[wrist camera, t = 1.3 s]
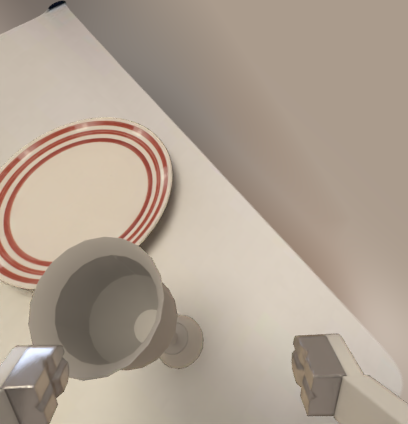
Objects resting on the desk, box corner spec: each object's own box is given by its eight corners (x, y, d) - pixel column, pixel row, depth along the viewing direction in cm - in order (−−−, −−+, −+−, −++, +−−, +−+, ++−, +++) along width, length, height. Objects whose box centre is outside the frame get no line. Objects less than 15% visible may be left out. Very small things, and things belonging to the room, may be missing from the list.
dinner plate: (126, 106, 50) (118, 89, 48) (216, 210, 37) (212, 196, 34) (-23, 190, 46) (-41, 178, 43) (17, 345, 32) (-6, 342, 29)
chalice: (226, 332, 29) (192, 280, 14) (187, 396, 27) (96, 420, 12) (171, 293, 32) (93, 216, 17) (132, 349, 30) (1, 317, 15)
